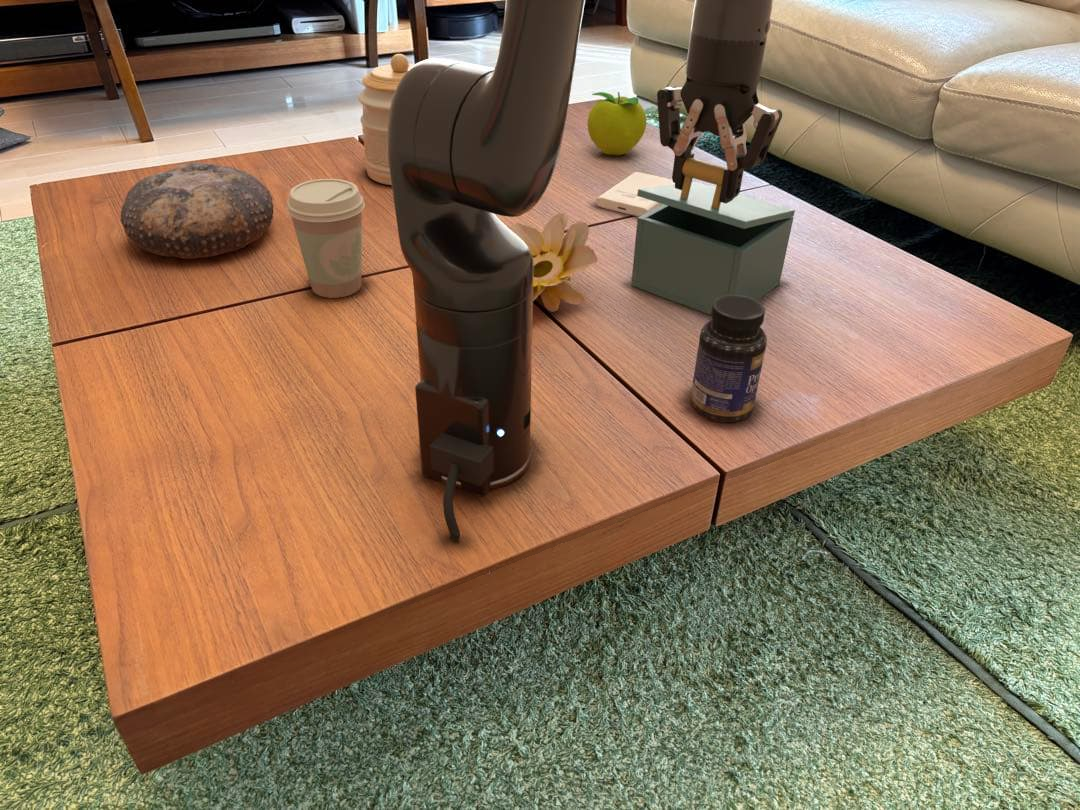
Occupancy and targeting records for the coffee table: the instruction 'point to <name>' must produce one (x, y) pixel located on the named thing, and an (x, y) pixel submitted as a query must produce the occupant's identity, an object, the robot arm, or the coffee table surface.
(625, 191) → the hard drive
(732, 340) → the pill bottle
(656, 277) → the chest
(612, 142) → the fruit
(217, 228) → the sea urchin shell
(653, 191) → the lid
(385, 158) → the jar
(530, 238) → the decorative flower
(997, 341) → the coffee table surface
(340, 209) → the coffee cup
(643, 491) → the coffee table surface
